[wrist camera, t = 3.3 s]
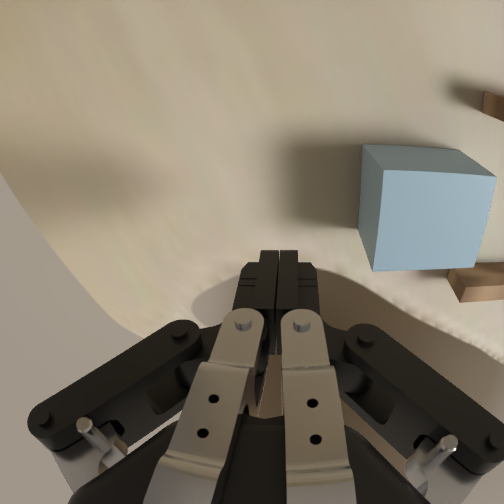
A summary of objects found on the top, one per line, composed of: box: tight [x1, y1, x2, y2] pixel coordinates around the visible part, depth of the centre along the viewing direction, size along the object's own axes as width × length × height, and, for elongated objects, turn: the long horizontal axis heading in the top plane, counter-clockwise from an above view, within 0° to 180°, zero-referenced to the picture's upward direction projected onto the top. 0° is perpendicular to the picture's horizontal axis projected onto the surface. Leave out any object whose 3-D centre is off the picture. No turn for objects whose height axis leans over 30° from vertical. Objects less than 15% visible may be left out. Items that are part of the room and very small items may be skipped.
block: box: [358, 144, 497, 272], centre depth 18 cm, size 7×6×5 cm
